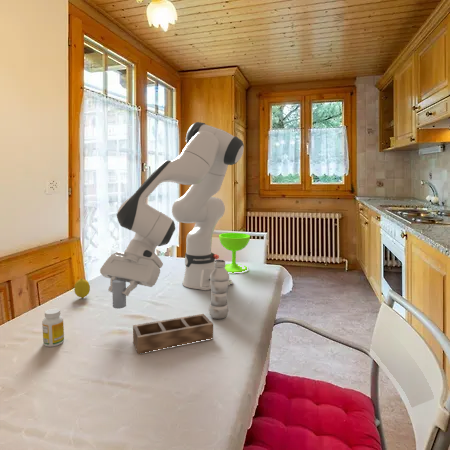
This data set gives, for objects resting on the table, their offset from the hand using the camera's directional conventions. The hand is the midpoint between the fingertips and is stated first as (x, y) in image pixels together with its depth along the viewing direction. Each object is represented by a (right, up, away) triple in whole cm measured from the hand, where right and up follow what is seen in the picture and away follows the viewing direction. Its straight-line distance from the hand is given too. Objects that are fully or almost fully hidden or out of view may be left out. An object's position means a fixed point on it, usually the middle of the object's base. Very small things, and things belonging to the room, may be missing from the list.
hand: (117, 293), depth 105 cm
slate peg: (0, -4, +1) cm, 4 cm away
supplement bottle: (-16, -13, -7) cm, 22 cm away
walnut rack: (+18, -13, -4) cm, 23 cm away
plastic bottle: (+31, -11, +13) cm, 35 cm away
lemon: (-22, -8, +27) cm, 36 cm away
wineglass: (+38, -2, +71) cm, 81 cm away
